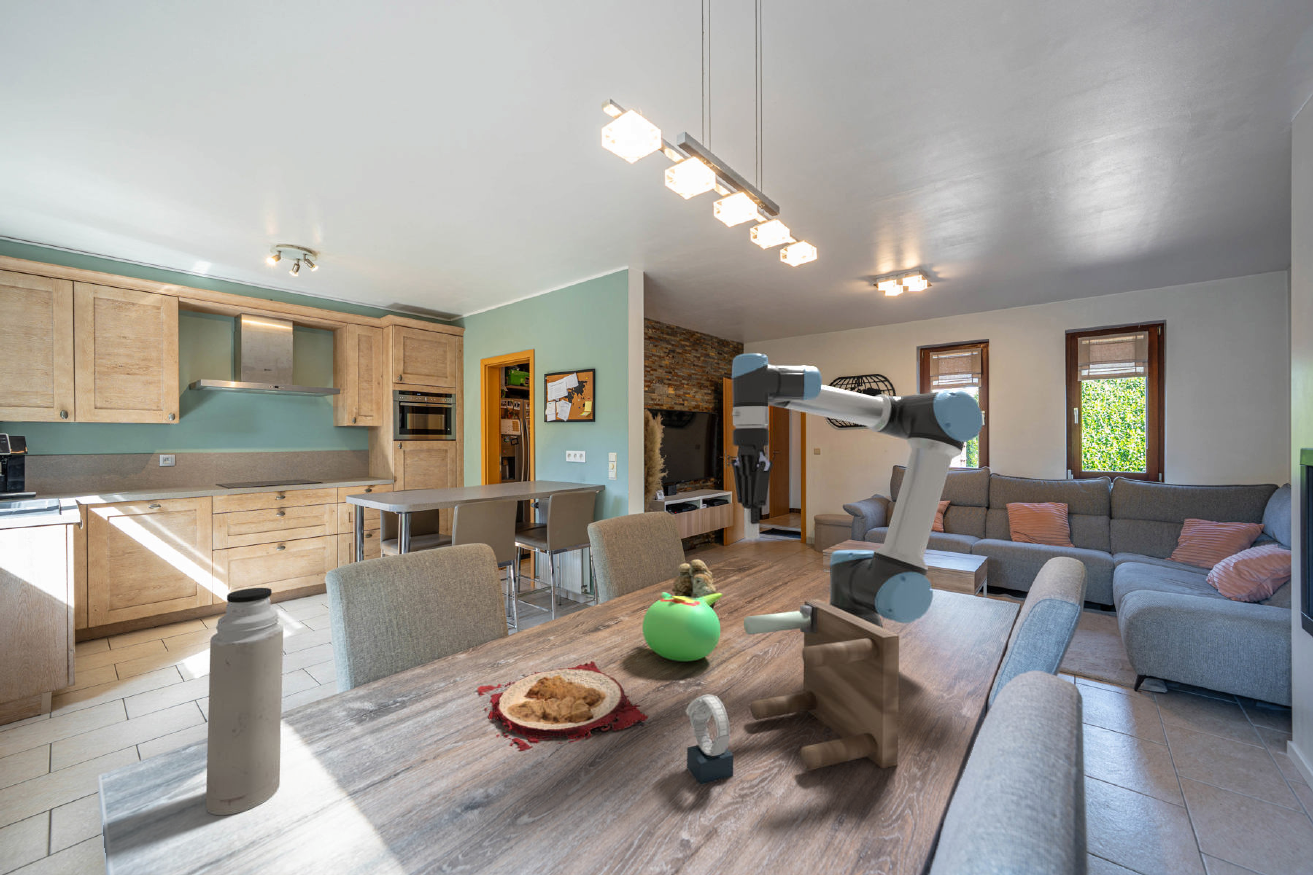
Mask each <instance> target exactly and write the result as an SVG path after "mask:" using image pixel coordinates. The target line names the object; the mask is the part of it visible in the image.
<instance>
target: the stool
mask: <svg viewBox="0 0 1313 875" xmlns="http://www.w3.org/2000/svg"><path fill="white" fill-rule="evenodd" d="M804 605H807V606H810V607H812V617H811V633H803V649H802V651H801V656H802V660H803V686H802V687H803V689H802V692H796V693H792V694H785V695H780V696H779V695H778V696H774V697H767V698H763V699H757V700H756V699H755V700H752V701H751V702H750V705H749V706H750V707H749V708H750V713H751V715H752V718H753V719H754V721H755V720H756V721H757V720H763V719H764V720H765V719H770V718H774V717H779V716H785V715H789V714H794V713H795V714H796V713H800V712H805V711H806V712H809V714H811V715H812V716H813V717H815V718H816V719H818V720H819V721H820V722H822V723H823V724H824V725H826V726H827V727H828V728H829V729H831V730H832V731H833V732H834V733H836V734H837V735H838V736H840V737H841V738H837V739H833V740H828V741H824V742H819V743H816V744H811V745H805V746H803V747H801V749H800V756H801V757H800V758H801V760H802V763H803V765H804V766H805V768H806V769H807V770H809V771H811V770H815V769H818V768H819V769H820V768H824V767H828V766H833V765H836V764H841V763H844V762H848V761H853V760H856V759H862V758H865V757H867V758H868V759H869V760H871V761H872V762H873V763H875V764H876V765H877V766H879V767H880V768H881V769H887V768H892V767H895V766H898V765H899V752H898V751H899V693H900V692H899V686H900V684H899V682H900V681H899V679H900V676H899V674H900V672H899V670H900V667H899V666H900V635H899V634H897V633H894V632H892V631H890V630H887V629H885V628H884V627H883V628H881V627H879V626H877V625H874V624H872V623H870V622H868V621H865V620H863V619H861V618H859V617H856V616H854V615H852V614H850V613H847V612H845V611H843V610H841V609H838V608H836V607H834V606H831V605H830V603H828V602H827V603H826V601H825V602H824V601H822V600H820V599H810V600H804Z"/></svg>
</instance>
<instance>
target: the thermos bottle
mask: <svg viewBox="0 0 1313 875" xmlns="http://www.w3.org/2000/svg"><path fill="white" fill-rule="evenodd" d="M271 595H272V588H269V587H252V588H251V587H250V588H246V589H245V588H243V589H239V590H236V591H232V592H229V593H228V594H227V595H226V601H227V604H226V607H225V614H224V615H223V616H221V617H220V618H219V619H217V625H216V627H215V628H216V632H217V633H215V634H214V635H212V636H211V638H210V640H209V642H210V644H209V645H210V646H209V680H208V711H207V712H208V713H207V714H208V716H207V753H206V754H207V758H206V790H205V791H206V794H205V795H206V798H205V800H206V801H205V808H206V811H207V812H208V813H210V814H212V815H215V816H227V815H234V814H239V813H243V812H245V811H248V810H251V809H254V808H255V807H258V806H259V805H261V804H263V803H265V802H266V801H268V800H269V799H271V798H272V797H273V796H274V795H275V794H276V793H277V791H278V790H279V788H280V783H281V781H280V778H281V744H282V743H281V739H282V738H281V725H282V724H281V722H282V704H283V703H282V696H283V694H282V693H283V663H284V662H283V660H284V659H283V658H284V657H283V656H284V653H283V652H284V626H283V625H282V624H280V623H278V622H279V619H280V615H279V614H278V610H276V609H274V608H271V599H270V597H271Z"/></svg>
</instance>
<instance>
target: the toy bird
mask: <svg viewBox="0 0 1313 875" xmlns="http://www.w3.org/2000/svg"><path fill="white" fill-rule="evenodd" d="M660 595H661V598H660V599H658V600H657V601H655V602H654V603H653V604H651V605H650V606H649V607H648V609H647V611H646V612H645V615H644V616H643V620H642V635H643V638H644V640H645V642H646V644H647V645H648V647H649V648H650V650H652V651H653V652H655V654H658V655H659V656H661V657H663V658H665V659H668V660H670V661H671V660H672V661H676V662H693V661H697V660H701V659H703V658H705V657H707V656H708V655H710V654H711V653H712V652H713V651H714V650H715V648H716V647H717V645H718V643H719V641H720V636H721V621H720V619H719V617H718V615H717V613H716V611H714V608H713V609H712V608H711V607H710V605H711V604H713V603H714V602H715V601H716V602H717V601H718V600H720V599H721V598H722V597H723V593H722V592H721V593H720V592H718V593H717V592H716V594H711V595H707V596H703V597H700V598H693V597H686V596H675V595H671V593H670V594H669V593H668V592H664V591H663V592H661V594H660ZM716 602H715V603H716ZM719 621H720V622H719Z"/></svg>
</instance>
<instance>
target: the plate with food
mask: <svg viewBox="0 0 1313 875" xmlns="http://www.w3.org/2000/svg"><path fill="white" fill-rule="evenodd" d="M616 679H617V678H616ZM616 679H615V678H614V677H612V676H610V675H608V674H606V673H605V672H602V671H601V670H600V669H599V668H598V667H597V666H596V663H595V661H590V663H588V662H586V663H584V664H582V663H580V664H578V665H577V666H574V667H567V668H565V667H563V668H556V669H550V671H549V670H548V671H545V670H544V671H540V672H539V671H537V672H536V671H535V672H534V673H531V675H526V676H525V677H522V678H520V679H519V680H517V681H513V682H511V681H509V683H506V684H504V685H503V684H501V683H498V684H497V685H496V686H493V685H492V684H491V685H490V684H489V685H481V686H478V687H477V692H478V694H479V697H482V696H485V693H486V695H490V697H491V698H490V701H489V702H488V703H489V704H491V706H490V707H491V708H492V709H493V710H492V711H491V710H490V711H489V715H488V719H489V720H491V723H494V722H496V721H497V722H498V721H500V720H501V721H502V722H503V723H502V726H505V727H504V730H505V731H506V730H508V732H511V731H512V732H514V733H517V735H523V736H524V737H526V740H527V742H526V741H524V740H523V739H521V738H518V737H514V738H510V737H509V735H512V733H510V734H506V732H503V733H502V735H503V738H506V739H507V740H511V741H512V742H510V744H509V746H508V747H513V746H514V743H517V744H519V745H518V746H517V747H516V748H515V749H518V750H517V752H524V751H526V750H527V751H528V750H530V749H533V745H532V746H530V744H528V743H531V744H536V745H538V744H540V740H543V741H548V740H550V741H552V738H553V737H555V739H557V737H566V739H569V741H568V743H569V744H570V743H574V742H577V741H580V740H582V739H584V738H586V739H585V740H587V739H590V738H591V737H592V736H594V733H591V730H592V729H595V731H598V727H601V731H603V732H606V731H607V730H609V729H610V728H611V726H612V730H613V731H614V732H616V731H621V730H624V729H625V728H630V727H631V726H632V725H634V724H636V723H637V722H642V723H643V722H644V723H645V721H646V720H648V718H649V715H646V714H644V713H642V712H641V710H640V709H639V708H641V707H642V706H641V705H640V704H633V702H632V701H630V699H629V698H630V697H629V695H626V694H625V690H624V688H623V687H622V685H621V684H620V682H618V681H617V680H616ZM508 686H509V687H508ZM502 687H504V688H506V687H508V688H506V689H505V690H504V692H499V693H496V691H498V690H499V689H500V688H502ZM490 691H493V694H491V693H490ZM484 709H485V712H486V713H487V712H488V708H487V707H484ZM493 719H495V720H496V721H495V720H493ZM617 719H618V720H617ZM596 728H597V729H596ZM495 734H496V732H495ZM586 734H587V735H586ZM498 737H500V734H497V735H496V738H498ZM508 737H509V738H508ZM557 744H563V742H560V741H559V742H557ZM532 751H533V752H534V749H533V750H532Z"/></svg>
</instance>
